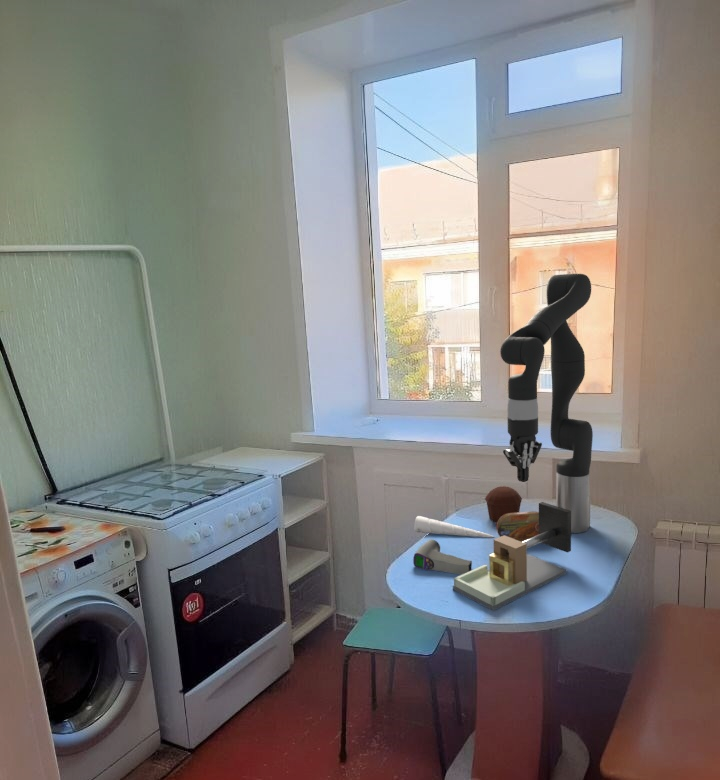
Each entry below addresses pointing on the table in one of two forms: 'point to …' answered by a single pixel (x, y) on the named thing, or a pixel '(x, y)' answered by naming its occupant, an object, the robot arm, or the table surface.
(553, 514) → the shaft
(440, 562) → the infrared thermometer
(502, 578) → the spacer
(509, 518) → the tin
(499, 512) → the muffin
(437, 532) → the unicorn horn
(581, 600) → the table surface
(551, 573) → the shaft rig
